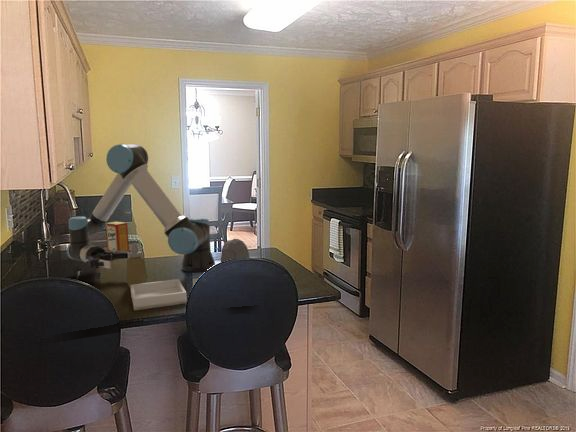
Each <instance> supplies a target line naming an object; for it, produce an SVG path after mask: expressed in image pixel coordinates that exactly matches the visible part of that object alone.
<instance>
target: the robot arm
mask: <svg viewBox="0 0 576 432" xmlns="http://www.w3.org/2000/svg"><path fill="white" fill-rule="evenodd" d="M105 160H106V161H105V162H106V165H107V167H108V169H109V170H111V171H112V172H114V173H116V175H115V177H114V178H113V180H112V182H111V183H110V184H109V186H108V187H107V189H106V191H105V192H104V194H103V195H102V197H101V199H99V202H98V203H97V204H96V205H95V208H94V210H92V212H91V214H90V215H89V217H88V218H87V217H86V216H78V215H77V216H73V217H70V218H69V219H68V232H69V233H68V234H69V242H70V243H69V245H68V246H67V249H66V255H67V256H68V258H70V259H71V260H74V261H78V262H82V263H83V262H84V263H86V264H88V265H89V267H90V268H94V266H95V269H99V268H105V269H108V270H109V269H111V266H112V265H111V261H114V260H119V259H120V260H121V259H123V260H124V259H128V258H130V257H129V253H130V252H132V250H130V249H129V251H114V250H113V251H112V252H108V251H107V250H105V249H104V248H103V247H99V246H97V245H90V238H89V237H90V236H91V235H94V234H97V233H101V232H103V231H104V230H106V227H107V223H108V220H109V218H110V217H111V216H112V214H113V213H114V211H115V210H116V208H117V207H118V206H119V204H120V202H121V201H122V199H123V198H124V196H125V195H126V193H127V192H128V190H129V189H130V187H131V186H132V187H133V188H134V189H135V190H136V192H137V193H138V194H139V195H140V197H141V199H142V200H143V201H144V202H145V204H146V205H147V206H148V207H149V209H150V210H151V212H153V215H155V217H156V218H157V219H158V221H159V222H160V224H162V226H163V228H164V231H163V233H164V235H165V236H166V237H167V245H168V246H169V249H170V250H171V251H172V252H174V253H175V254H176V255H177V254H178V255H183V258H182V261H181V270H182V271H183V272H187V273H203V272H207V271H206V270H207V269H209V268H210V267H212V266H213V265H215V266H216V262H215V259H214V257H213V254H212V250H211V231H210V230H211V228H210V227H211V225H210V221H209V219H208V218H189V217H188V216H186V215H182V214H181V213H180V211H178V209H177V208H176V206H175V205H174V204H173V203H172V200H170V198H169V197H168V196H167V194H166V193H165V192H164V191H163V189H162V188H161V186H160V185H159V184H158V183H157V182H156V180H155V178H154V177H153V176H152V175H151V173H150V172H149V171H148V167H149V165H148V162H149V155H148V151H147V150H146V149H145V147H143V146H142V145H140V144H135V143H127V144H125V143H119V144H115V145H113V146H112V147H110V148H109V149H108V151H107V153H106V159H105Z"/></svg>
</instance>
